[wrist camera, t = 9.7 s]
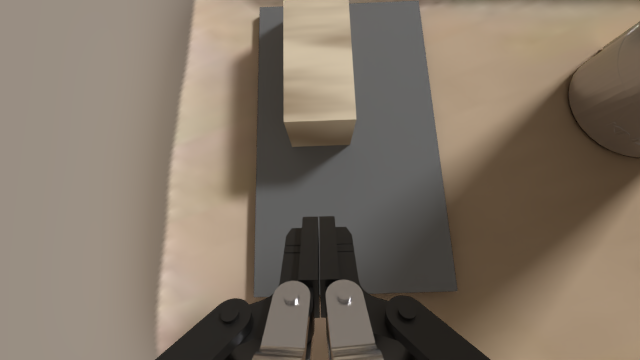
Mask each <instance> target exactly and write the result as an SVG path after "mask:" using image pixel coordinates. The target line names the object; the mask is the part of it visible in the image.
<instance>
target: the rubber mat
mask: <svg viewBox="0 0 640 360" xmlns="http://www.w3.org/2000/svg"><path fill="white" fill-rule="evenodd" d="M349 14H350V29H351V44H352V59H353V74H354V89H355V104H356V123H355V127H354V131H353V135H352V139H351V143H350V145H330V146H303V147H292V145H291V142H290V139H289V136H288V133H287V130H286V128H285V125H284V70H283V6H282V7H260V24H259V72H258V119H257V167H256V215H255V263H254V297H270V296H271V295H272V294H273V293H274V292H275V290H276V289H277V287H278V286H279V282H280V276H281V268H282V261H283V254H284V247H285V240H286V235H287V234H288V233H289V231H290V230H291V228H302V219H303V217H318V229H319V216H335V227H347V229H348V230H349V231H350V233H351V234H352V239H353V246H354V253H355V259H356V265H357V272H358V278H359V283H360V285H361V287H362V288H363V289H364V291H366V292H367V293H368V294H378V293H411V292H444V291H458V290H457V283H456V276H455V268H454V261H453V253H452V246H451V239H450V231H449V224H448V216H447V209H446V202H445V194H444V187H443V179H442V172H441V164H440V157H439V150H438V142H437V135H436V127H435V120H434V113H433V105H432V98H431V90H430V83H429V76H428V68H427V61H426V53H425V46H424V39H423V31H422V24H421V16H420V9H419V1H402V2H378V3H354V4H349ZM319 295H320V242H319Z"/></svg>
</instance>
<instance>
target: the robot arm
mask: <svg viewBox="0 0 640 360" xmlns="http://www.w3.org/2000/svg"><path fill="white" fill-rule="evenodd" d="M569 102H570V107H571V109H572V112H573V115H574V117H575V119H576V120H577V122H578V123H579V125H580V127H581V128H582V129H583V130H584V131H585V132H586V133H587V134H588V135H589V136H590V137H591V138H592V139H593V140H595V141H596V142H597V143H598V144H600V145H602V146H603V147H605V148H607V149H609V150H611V151H613V152H616V153H619V154H622V155H625V156H631V157H640V22H638V23H637V24H635V25H634V26H632V27H631V28H630V29H628V30H627V31H625V32H624V33H623V34H621V35H620V36H618V37H617V38H615V39H614V40H613V41H611V42H610V43H608V44H607V45H606V46H604V47H603V50H602V51H601V52H599V53H598V54H596V55H595V56H594V57H592V58H591V59H589V60H588V61H586V62H585V63H584V64H583V65H581V66H580V67H579V68H578V70H577V71H576V72H575V73H574V75H573V77H572V80H571V82H570V86H569ZM319 242H320V298H321V318H322V317H326V335H327V348H328V358H329V360H490V359H489V358H488V357H487V356H485V355H484V354H483V353H482V352H480V351H479V350H478V349H477V348H475V347H474V346H473V345H472V344H470V343H469V342H468V341H467V340H465V339H464V338H463V337H462V336H460V335H459V334H458V333H457V332H456V331H454V330H453V329H452V328H451V327H449V326H448V325H447V324H446V323H444V322H443V321H442V320H441V319H439V318H438V317H437V316H436V315H434V314H433V313H432V312H431V311H429V310H428V309H427V308H426V307H425V306H423V305H422V304H421V303H420V302H418V301H417V300H415V299H413V298H411V297H408V296H396V297H394V298H392V299H391V300H390V301H386V300H383V299H379V298H376V297H373V296H371V295H370V294H368V293H367V292H366V291H364V289H363V288H362V287H361V285H360V283H359V278H358V272H357V265H356V259H355V253H354V246H353V239H352V234H351V233H350V231H349V230H348V229H347V227H335V216H319V229H318V217H303V219H302V228H291V230H290V231H289V233H288V234H287V235H286V240H285V247H284V254H283V261H282V268H281V276H280V282H279V286H278V287H277V289H276V290H275V292H274V293H273V294H272V295H271V296H270V297H268V298H266V299H264V300H262V301H259V302H256V303H253V304H250V305H249V304H248V303H247V302H246V301H244V300H242V299H230V300H227V301H224V302H223V303H221V304H220V305H219V306H217V307H216V308H215V309H214V310H213V311H211V312H210V313H209V314H208V315H207V316H206V317H204V318H203V319H202V320H201V321H200V322H199V323H197V324H196V325H195V326H194V327H193V328H192V329H190V330H189V331H188V332H187V333H186V334H185V335H183V336H182V337H181V338H180V339H179V340H178V341H176V342H175V343H174V344H173V345H172V346H171V347H169V348H168V349H167V350H166V351H165V352H164V353H162V354H161V355H160V356H159V357H158V358H157V359H155V360H311V358H312V346H313V335H314V318H320V300H319Z"/></svg>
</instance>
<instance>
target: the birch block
mask: <svg viewBox="0 0 640 360" xmlns="http://www.w3.org/2000/svg"><path fill="white" fill-rule="evenodd" d="M283 70H284V125H285V128H286V130H287V133H288V136H289V139H290V142H291V145H292V147H303V146H330V145H350V143H351V139H352V135H353V131H354V127H355V123H356V104H355V89H354V74H353V59H352V44H351V29H350V14H349V0H283Z"/></svg>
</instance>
